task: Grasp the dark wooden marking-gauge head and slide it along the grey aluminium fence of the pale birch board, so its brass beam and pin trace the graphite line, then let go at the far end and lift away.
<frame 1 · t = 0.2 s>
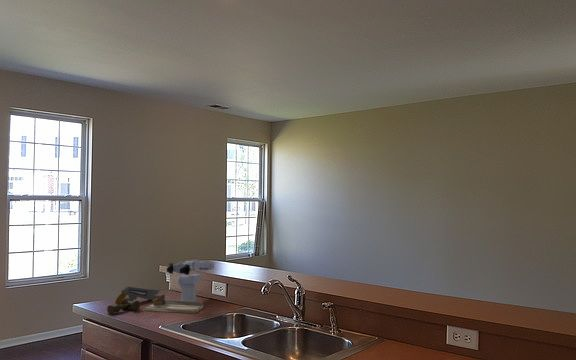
hand: (173, 270, 267), 21 cm above the worktop, tool horizontal, fingers open, 7 cm apart
board: (174, 309, 267), on the worktop
gun: (137, 302, 284), on the worktop
kendama: (125, 311, 262), on the worktop
gauge: (159, 304, 271), point 1 cm above the worktop, touching board
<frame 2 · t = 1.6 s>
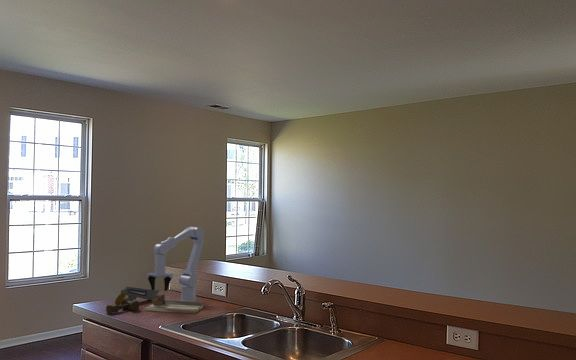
hand: (159, 290, 271), 9 cm above the worktop, tool pointing down, fingers open, 7 cm apart
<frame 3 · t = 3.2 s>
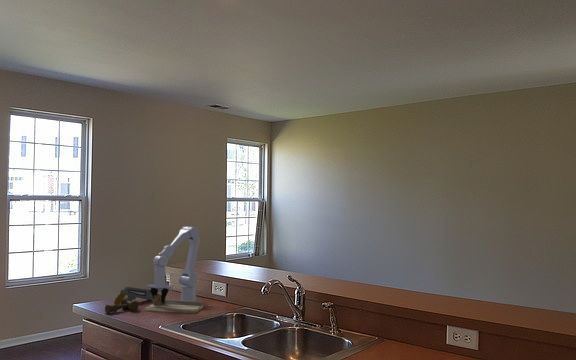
hand: (159, 302, 271), 3 cm above the worktop, tool pointing down, fingers closed on gauge, 4 cm apart
gauge: (159, 304, 271), point 1 cm above the worktop, touching board, gripper
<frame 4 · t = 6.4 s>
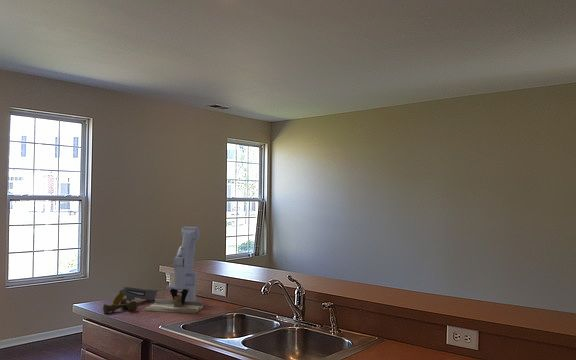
hand: (179, 303, 269), 3 cm above the worktop, tool pointing down, fingers closed on gauge, 4 cm apart
gauge: (179, 305, 269), point 2 cm above the worktop, touching gripper
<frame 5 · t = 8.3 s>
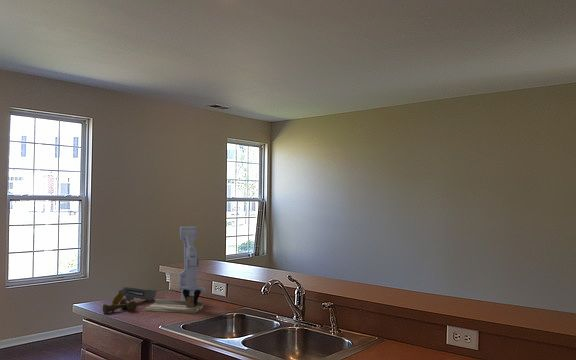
hand: (191, 303, 268), 3 cm above the worktop, tool pointing down, fingers closed on gauge, 4 cm apart
gauge: (191, 306, 268), point 2 cm above the worktop, touching board, gripper
when the fingers open (3 cm above the worktop, at t = 9.4 s): gauge stays where it is, resting on board.
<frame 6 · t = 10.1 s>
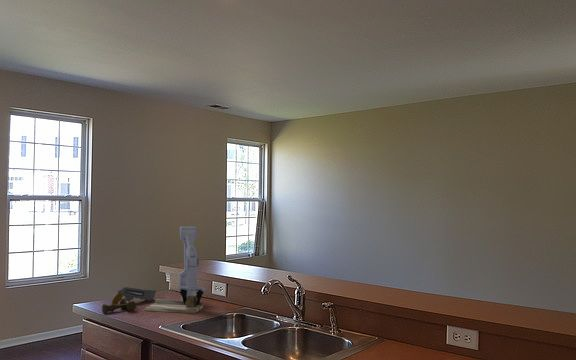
hand: (191, 303, 268), 3 cm above the worktop, tool pointing down, fingers open, 7 cm apart
gauge: (191, 306, 268), point 1 cm above the worktop, touching board
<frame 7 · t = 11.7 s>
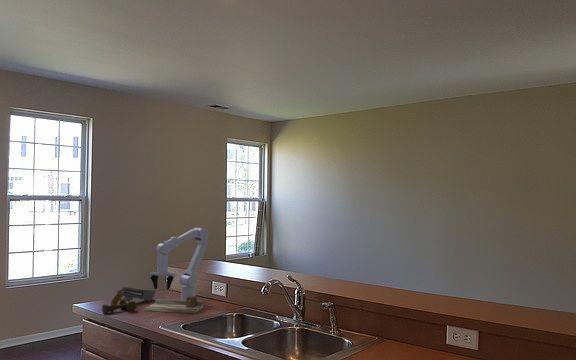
hand: (162, 289, 275), 9 cm above the worktop, tool pointing down, fingers open, 7 cm apart
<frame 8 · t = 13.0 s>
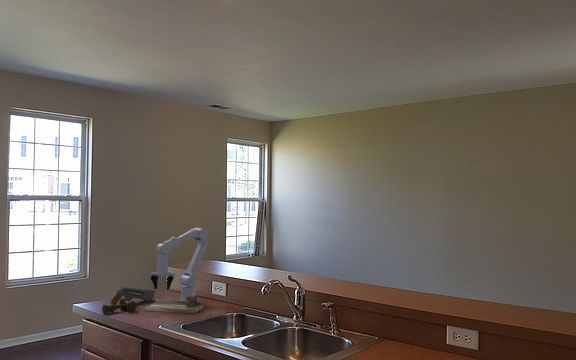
hand: (162, 289, 275), 9 cm above the worktop, tool pointing down, fingers open, 7 cm apart
at the end: gauge 0.3 cm from the target spot, point 1.5 cm above the worktop; gauge tilted 0°; the gripper is holding nothing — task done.
